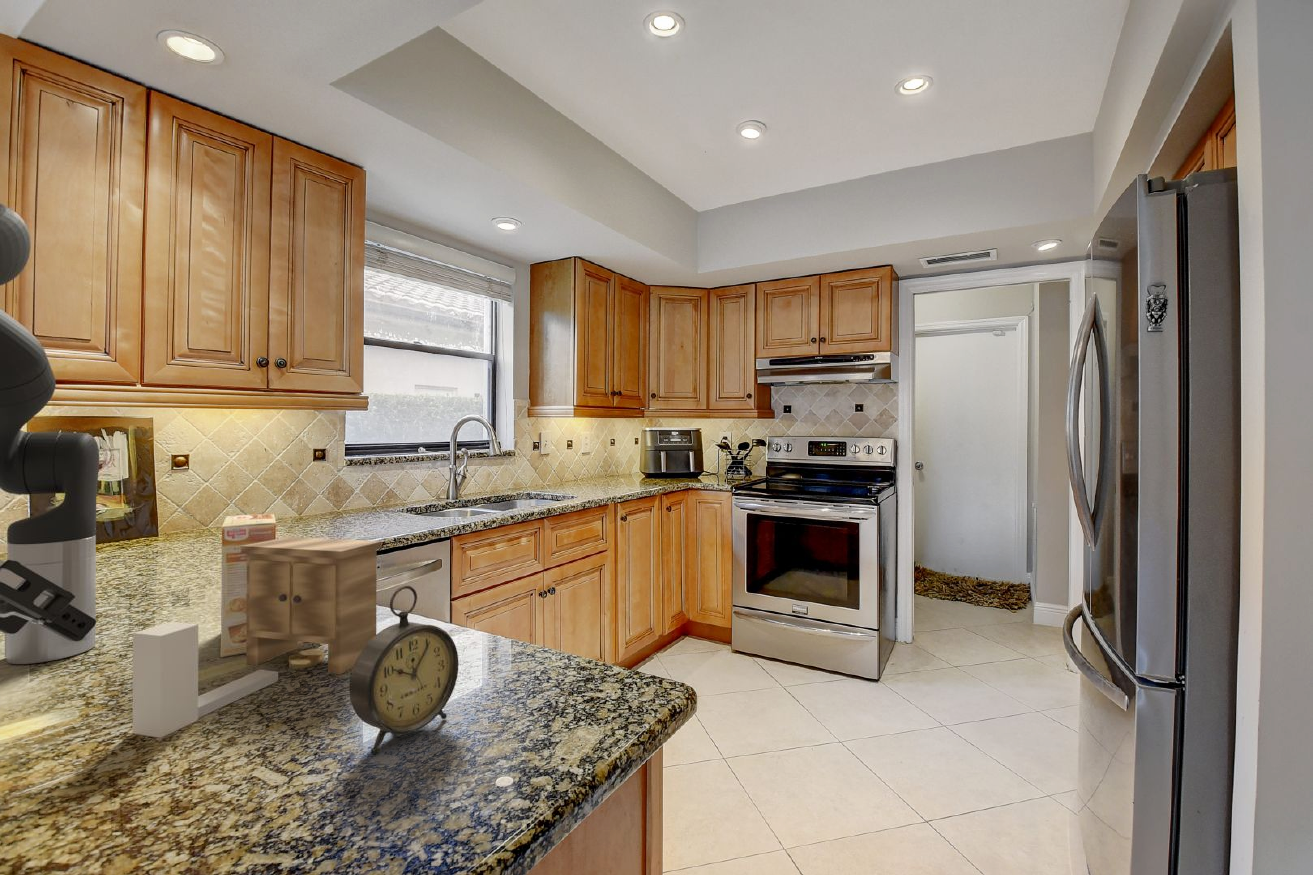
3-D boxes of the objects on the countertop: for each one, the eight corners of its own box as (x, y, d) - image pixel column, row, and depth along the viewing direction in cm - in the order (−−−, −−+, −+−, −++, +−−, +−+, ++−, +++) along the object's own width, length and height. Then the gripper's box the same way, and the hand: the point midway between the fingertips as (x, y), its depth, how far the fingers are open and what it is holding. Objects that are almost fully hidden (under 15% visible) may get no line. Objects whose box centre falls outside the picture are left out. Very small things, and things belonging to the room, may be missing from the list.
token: (281, 668, 82) (281, 658, 82) (306, 657, 86) (306, 648, 86) (306, 671, 81) (307, 661, 81) (331, 660, 85) (331, 650, 85)
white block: (132, 733, 63) (133, 632, 63) (256, 678, 78) (257, 596, 78) (160, 737, 62) (161, 635, 62) (281, 681, 77) (281, 598, 77)
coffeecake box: (276, 648, 89) (276, 522, 89) (218, 658, 85) (218, 526, 85) (274, 623, 101) (275, 512, 101) (224, 630, 97) (224, 515, 97)
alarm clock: (371, 764, 57) (371, 601, 57) (340, 749, 60) (341, 593, 60) (461, 719, 66) (461, 578, 66) (431, 707, 69) (431, 572, 69)
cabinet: (237, 665, 82) (238, 546, 82) (288, 645, 90) (288, 536, 90) (338, 677, 78) (338, 551, 78) (381, 654, 86) (381, 541, 86)
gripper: (-23, 490, 45) (140, 598, 56) (-140, 486, 48) (36, 588, 59) (-130, 574, 40) (73, 674, 51) (-253, 563, 43) (-37, 659, 54)
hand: (53, 628), depth 55 cm, fingers open, 8 cm apart
